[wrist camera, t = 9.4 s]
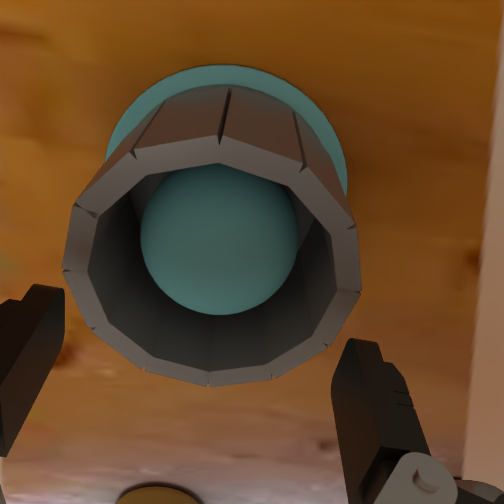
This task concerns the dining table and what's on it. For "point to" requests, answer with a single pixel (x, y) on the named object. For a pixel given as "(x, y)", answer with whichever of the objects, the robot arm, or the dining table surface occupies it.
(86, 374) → the dining table surface
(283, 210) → the ball
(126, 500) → the bark textured cylinder
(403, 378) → the robot arm
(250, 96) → the grey ribbed round container
